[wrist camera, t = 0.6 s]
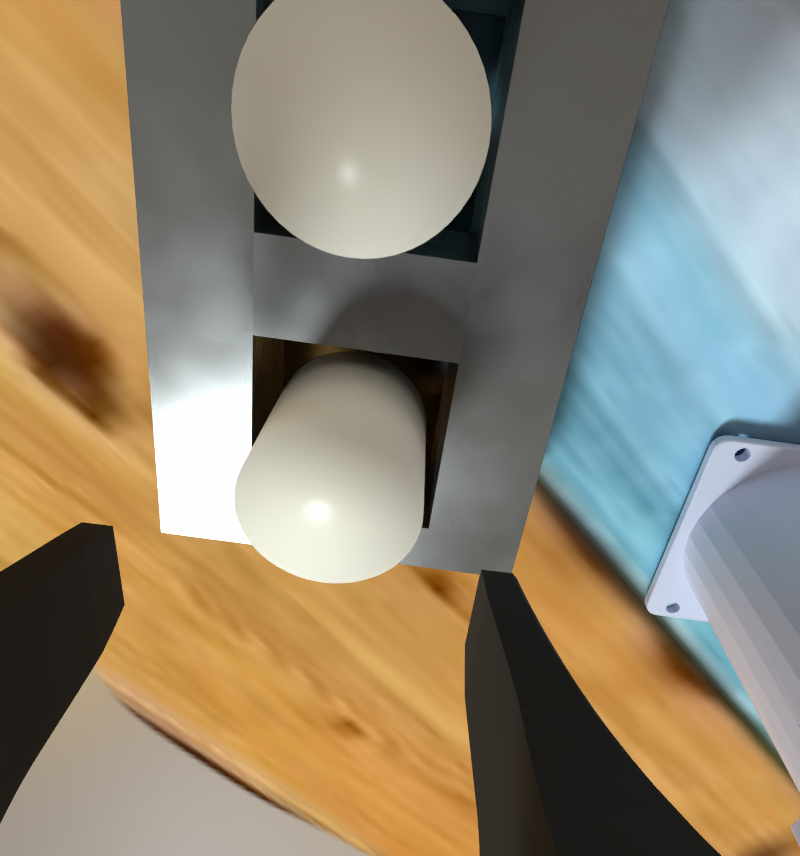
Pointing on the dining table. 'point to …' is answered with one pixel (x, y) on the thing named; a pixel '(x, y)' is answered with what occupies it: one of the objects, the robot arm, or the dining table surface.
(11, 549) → the dining table surface
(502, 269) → the knob mount
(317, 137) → the knob middle
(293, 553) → the knob
